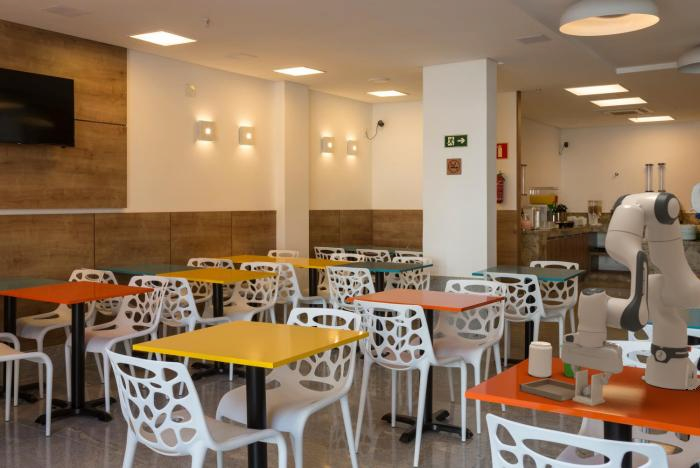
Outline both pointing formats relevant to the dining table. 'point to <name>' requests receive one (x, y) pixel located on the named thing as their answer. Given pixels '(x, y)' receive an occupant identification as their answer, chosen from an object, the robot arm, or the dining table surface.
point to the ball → (586, 391)
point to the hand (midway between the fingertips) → (590, 381)
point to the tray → (550, 389)
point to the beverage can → (540, 359)
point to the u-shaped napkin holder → (595, 388)
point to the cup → (569, 369)
